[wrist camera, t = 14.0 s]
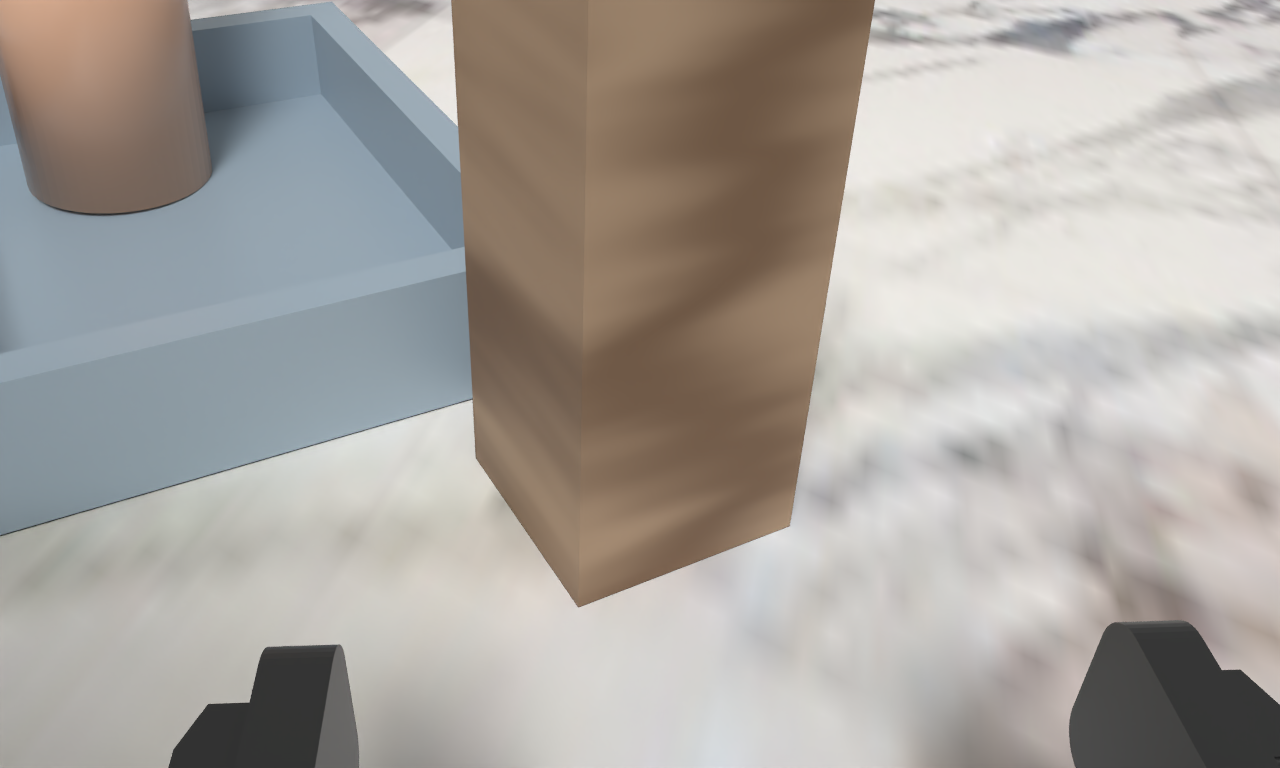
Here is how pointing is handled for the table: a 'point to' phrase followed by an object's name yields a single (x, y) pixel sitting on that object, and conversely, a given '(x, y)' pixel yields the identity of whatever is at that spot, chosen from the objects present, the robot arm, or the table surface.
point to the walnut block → (649, 263)
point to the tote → (237, 279)
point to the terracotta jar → (104, 102)
